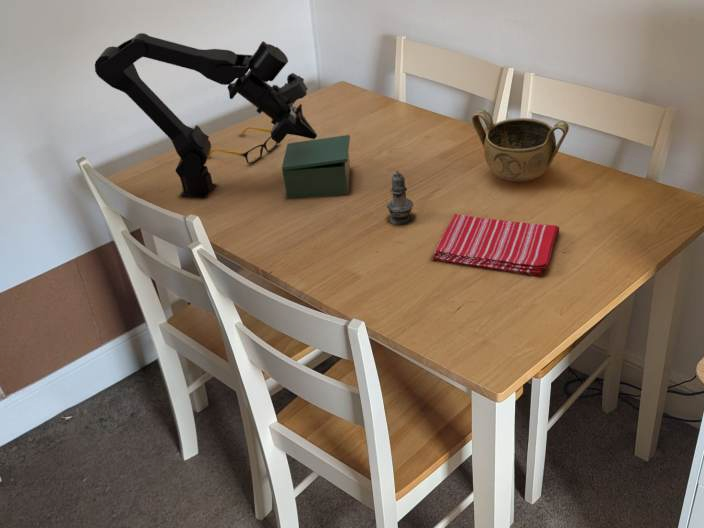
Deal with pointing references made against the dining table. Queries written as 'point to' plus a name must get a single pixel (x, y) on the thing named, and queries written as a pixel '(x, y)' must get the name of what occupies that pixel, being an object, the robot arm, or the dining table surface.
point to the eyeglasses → (251, 149)
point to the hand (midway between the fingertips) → (315, 137)
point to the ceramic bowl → (518, 146)
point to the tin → (318, 180)
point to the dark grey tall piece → (399, 202)
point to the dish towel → (497, 244)
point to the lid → (316, 152)
